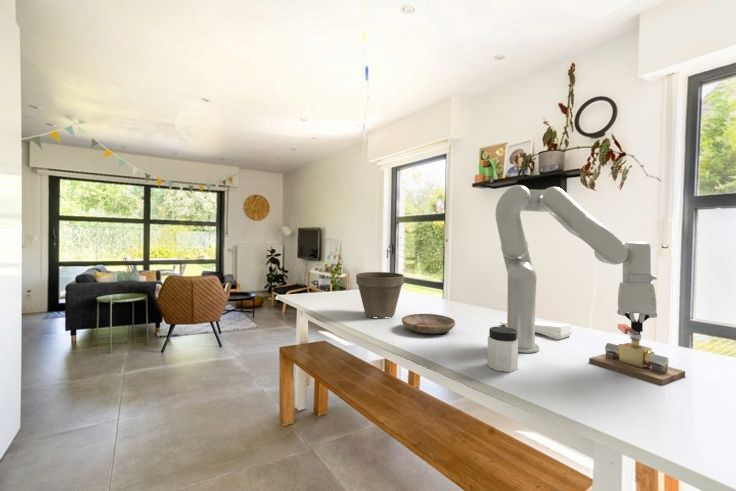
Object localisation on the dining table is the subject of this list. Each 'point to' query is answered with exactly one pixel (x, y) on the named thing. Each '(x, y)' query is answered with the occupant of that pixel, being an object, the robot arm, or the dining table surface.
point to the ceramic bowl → (428, 323)
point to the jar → (503, 349)
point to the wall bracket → (551, 329)
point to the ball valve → (637, 356)
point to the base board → (638, 370)
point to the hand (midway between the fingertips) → (636, 333)
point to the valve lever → (629, 331)
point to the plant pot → (379, 292)
